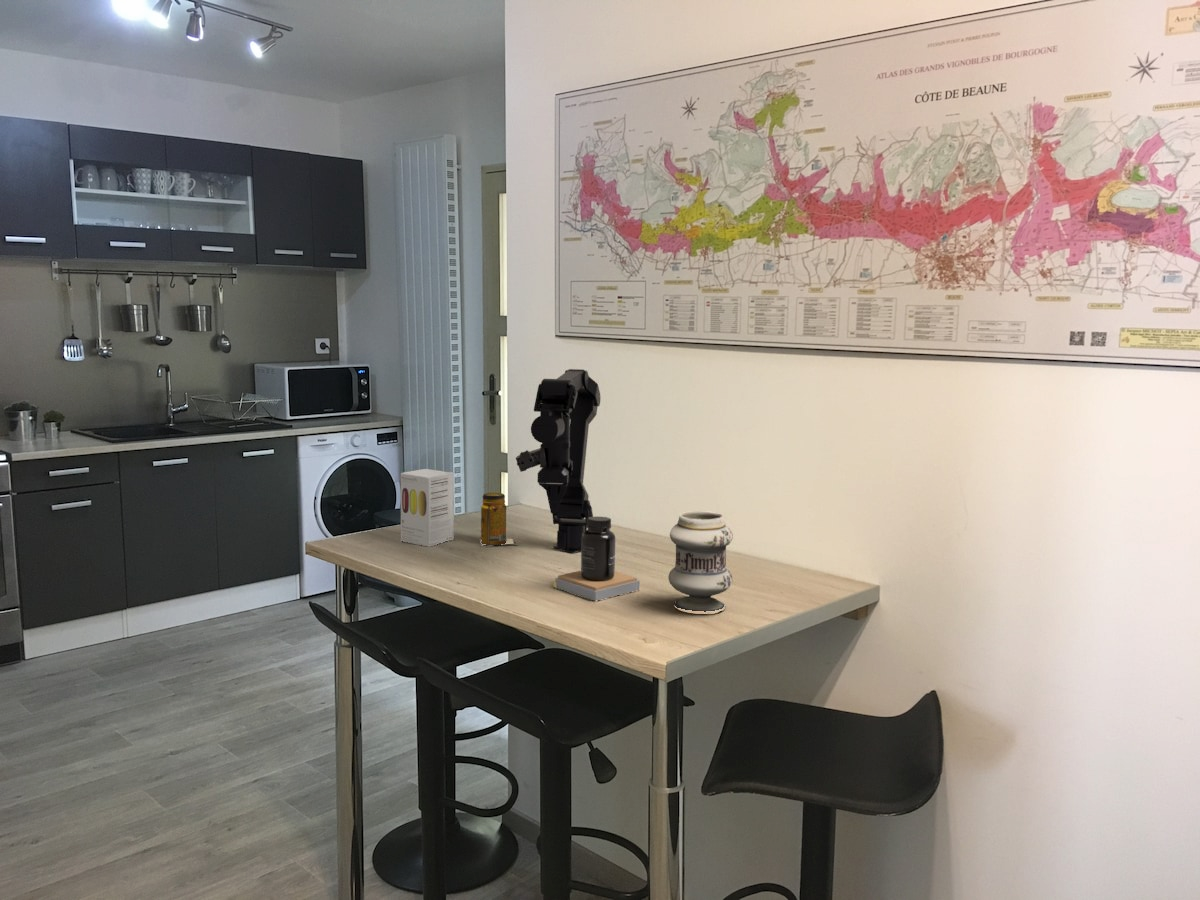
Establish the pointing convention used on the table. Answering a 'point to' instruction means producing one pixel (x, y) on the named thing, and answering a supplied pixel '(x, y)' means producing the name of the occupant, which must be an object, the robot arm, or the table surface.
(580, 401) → the robot arm
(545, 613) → the table surface
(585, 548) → the supplement bottle
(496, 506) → the condiment
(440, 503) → the supplement box
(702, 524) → the apothecary jar
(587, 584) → the note pad
